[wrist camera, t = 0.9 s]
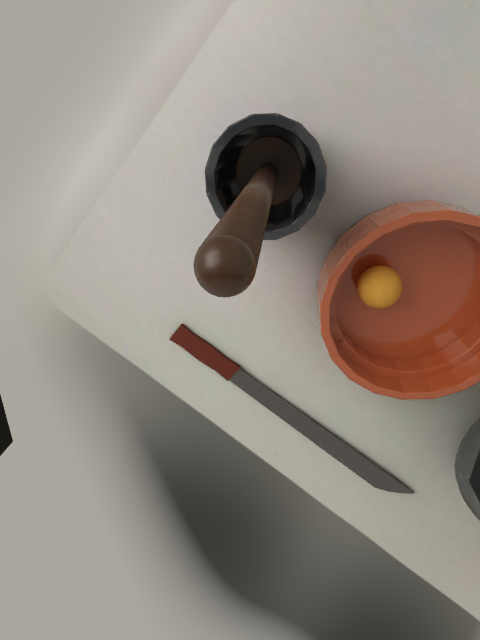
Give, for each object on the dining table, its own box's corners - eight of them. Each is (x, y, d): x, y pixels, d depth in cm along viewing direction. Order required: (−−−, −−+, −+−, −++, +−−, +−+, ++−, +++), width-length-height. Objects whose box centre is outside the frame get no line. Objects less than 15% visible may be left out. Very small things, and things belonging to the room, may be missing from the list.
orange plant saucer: (290, 243, 41) (291, 261, 35) (480, 166, 36) (514, 173, 31) (348, 387, 47) (356, 420, 41) (517, 335, 42) (551, 366, 37)
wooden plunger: (228, 152, 37) (62, 213, 10) (287, 124, 36) (286, 100, 8) (253, 211, 39) (172, 401, 12) (310, 186, 38) (371, 335, 10)
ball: (348, 269, 41) (354, 282, 37) (389, 253, 40) (400, 266, 36) (361, 304, 42) (368, 321, 38) (401, 290, 41) (412, 306, 37)
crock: (209, 143, 38) (184, 147, 29) (296, 100, 36) (299, 89, 27) (246, 229, 41) (235, 257, 32) (329, 193, 39) (342, 212, 30)
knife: (397, 500, 53) (398, 504, 52) (169, 338, 46) (168, 341, 46) (413, 489, 52) (414, 493, 51) (182, 322, 45) (181, 324, 45)
